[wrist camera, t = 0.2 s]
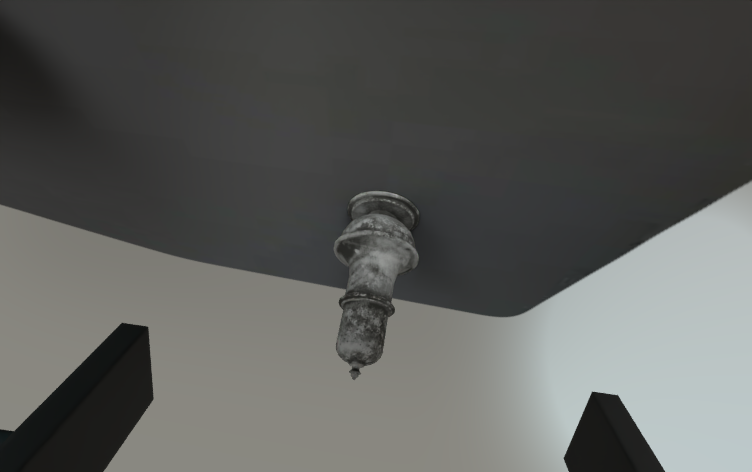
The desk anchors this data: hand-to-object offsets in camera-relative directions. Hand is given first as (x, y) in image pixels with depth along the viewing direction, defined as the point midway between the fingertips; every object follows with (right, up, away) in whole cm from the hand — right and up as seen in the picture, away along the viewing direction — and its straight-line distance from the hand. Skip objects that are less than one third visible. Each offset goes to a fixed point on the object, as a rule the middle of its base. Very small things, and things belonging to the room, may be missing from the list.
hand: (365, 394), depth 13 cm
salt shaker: (+1, +7, +19) cm, 20 cm away
